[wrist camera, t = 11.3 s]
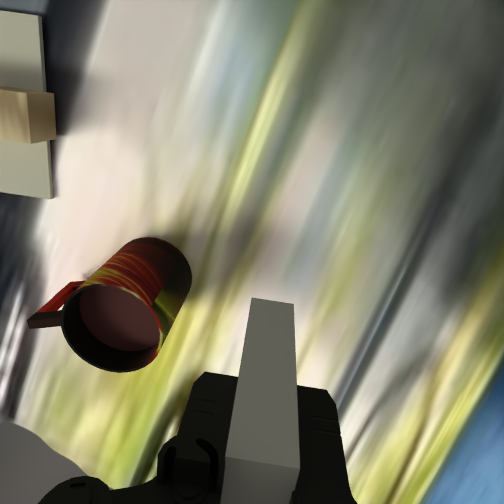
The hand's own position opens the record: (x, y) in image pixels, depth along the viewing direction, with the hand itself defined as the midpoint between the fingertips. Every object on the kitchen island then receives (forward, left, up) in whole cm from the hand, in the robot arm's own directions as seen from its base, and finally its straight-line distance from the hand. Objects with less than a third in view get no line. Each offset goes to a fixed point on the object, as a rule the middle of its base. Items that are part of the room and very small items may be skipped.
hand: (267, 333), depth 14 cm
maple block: (-3, -24, -27) cm, 36 cm away
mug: (+15, -15, -30) cm, 37 cm away
